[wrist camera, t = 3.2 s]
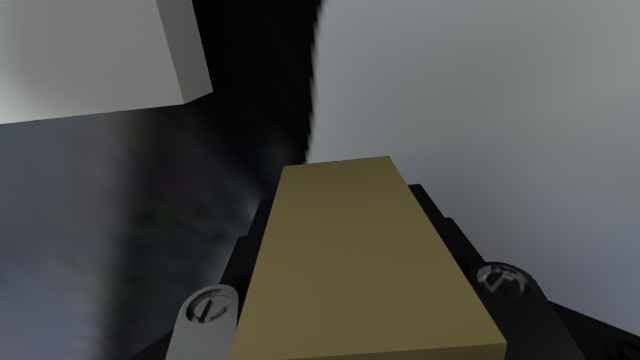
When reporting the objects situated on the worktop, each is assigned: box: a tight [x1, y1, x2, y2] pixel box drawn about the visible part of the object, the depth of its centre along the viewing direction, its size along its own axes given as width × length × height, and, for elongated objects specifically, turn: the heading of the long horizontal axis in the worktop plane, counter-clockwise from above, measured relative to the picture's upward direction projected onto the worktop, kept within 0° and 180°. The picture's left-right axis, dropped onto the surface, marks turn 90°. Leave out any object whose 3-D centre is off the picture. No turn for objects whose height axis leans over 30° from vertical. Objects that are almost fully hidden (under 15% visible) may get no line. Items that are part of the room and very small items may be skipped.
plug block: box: [228, 156, 507, 360], centre depth 9 cm, size 4×4×8 cm
